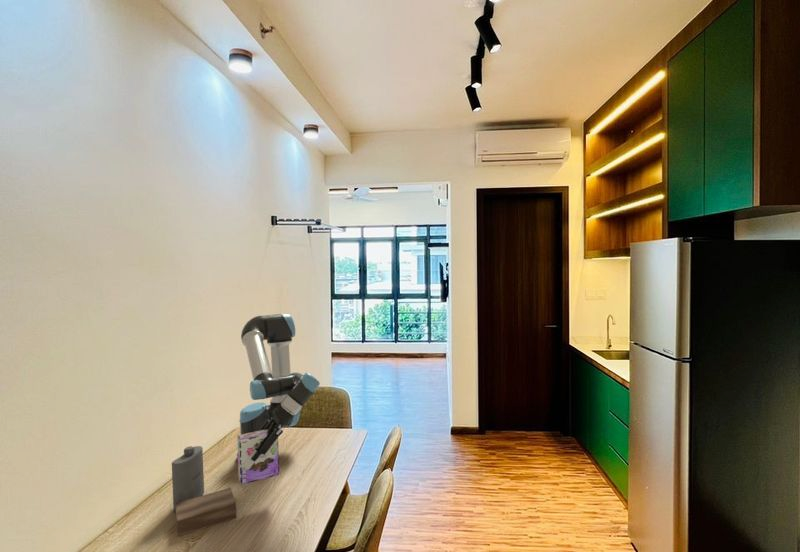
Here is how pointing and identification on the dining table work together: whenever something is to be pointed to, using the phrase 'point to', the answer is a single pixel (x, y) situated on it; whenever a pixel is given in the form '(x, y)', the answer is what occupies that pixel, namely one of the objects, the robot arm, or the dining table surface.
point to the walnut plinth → (205, 511)
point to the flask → (188, 475)
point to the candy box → (264, 463)
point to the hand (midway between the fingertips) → (243, 463)
